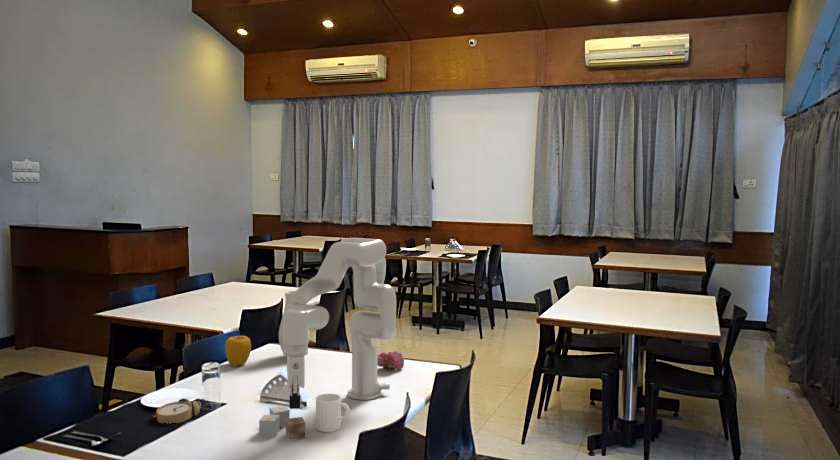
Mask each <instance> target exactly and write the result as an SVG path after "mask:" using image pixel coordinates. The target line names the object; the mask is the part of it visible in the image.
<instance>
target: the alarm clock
mask: <svg viewBox="0 0 840 460" xmlns="http://www.w3.org/2000/svg"><path fill="white" fill-rule="evenodd" d="M201 409H202V403H201V401H200V400H189V399H188V398H184V397H183V398H180V399H179V400H178V401H174V402H169V403H165V404H164V405H161V406H159V407H158V408H157V409H156V411H155V412H156V414H155V415H153V416H152V417H153V418H156V419H157V420H156V421H157V422H158V423H159V424H163V423H167V424H166V425H172V424H171V423H176V424H180V423H184V422H185V421H188V420H190V419H191V418H192V417H193V416H198V415H199V413H200V410H201ZM168 423H169V424H168Z"/></svg>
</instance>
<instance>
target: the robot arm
mask: <svg viewBox="0 0 840 460" xmlns="http://www.w3.org/2000/svg"><path fill="white" fill-rule="evenodd" d="M386 256H387V245H386V243H385V242H384V241H383V240H382V239H378V238H364V237H347V238H343V240H342V241H337V242H334V243H333V244H332V245H331V246H330V247H329V249H328V252H327V253H326V255H325V257H324V259H323V261H322V263H321V265H320V268H318V272H317V274H316V275H314V276H313V277H311V278H310V279H308V280H307V281H306V282H304V283H303V284H301V286H299V287H298V288H297V289H296V290H294V291H295V293H294V294H293V296H292V298H291V300H290V302H289V304H288V306H287V308H286V311H285V312H284V311H283V313H284V316H283V315H282V317H283V352H282V356H284V357H286V356H287V357H286V377H287V384H288V385H287V386H288V389H290V391H289V402H288V403H289V405H288V406H289V408H288V409H289V410H293V409H294V410H296V409H301V393H300V388H302V389H304V388H305V384H306V382H305V381H306V380H305V379H306V377H305V376H306V375H305V374H306V373H305V372H306V371H305V369H306V366H305V364H306V363H305V362H306V361H305V360H306V359H305V356H307V355H308V353H309V343H308V331H309V332H310V331H318V330H322V329H323V328H325V327H326V326H327V324H328V323H329V320H330V314H329V311H328V309H327V308H325V307H323V306H320V305H314V304H308V303H309V302H310V301H312V300H314V298H316V297H318V296H321V295H324V294H326V293H329V292H333V291H335V290H337V289H338V288H340V286H341V284H342V282H343V279H344V277H345V275H346V273H347V271H348V269H349V268H352V271H353V272H352V274H353V301H354V304H355V305H356V307H359V308H363V309H368V310H369V309H370V310H378V311H379V312H377V311H376V312H375V311H368V310H359V311H356V312H354V313H352V315H351V317H350V318H349V331H350V336H351V349H352V350H351V388H350V389H348V391H347V396H348V397H349V398H351V399H353V400H359V401H361V400H362V401H368V400H375V399H377V398H380V396H382V390H386V391H387V390H390V388H391V386H390V383H387V384H386V382H382V383H380V382H379V381H378V365H377V356H379V354H378V345H377V343H376V340H375V339H377V340H391V339H392V338H393V337H394V336H395V333H396V329H397V328H396V327H397V295H396V291H395V289H394V287H393V286H391V285H390V284H387V283H379V282H378V281H377V280H378V279H377V278H378V277H377V267H376V265H377V264H379V263H381V262H382V261H383V260H384V259H385V257H386Z"/></svg>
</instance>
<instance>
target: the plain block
mask: <svg viewBox="0 0 840 460" xmlns="http://www.w3.org/2000/svg"><path fill="white" fill-rule="evenodd" d="M285 434H286V437H287V439H288V441H294V440H300V439H301V440H302V439H306V421H305V420H304V418H303V416H297V417H292V418H291V417H290V419H286V426H285Z"/></svg>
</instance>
